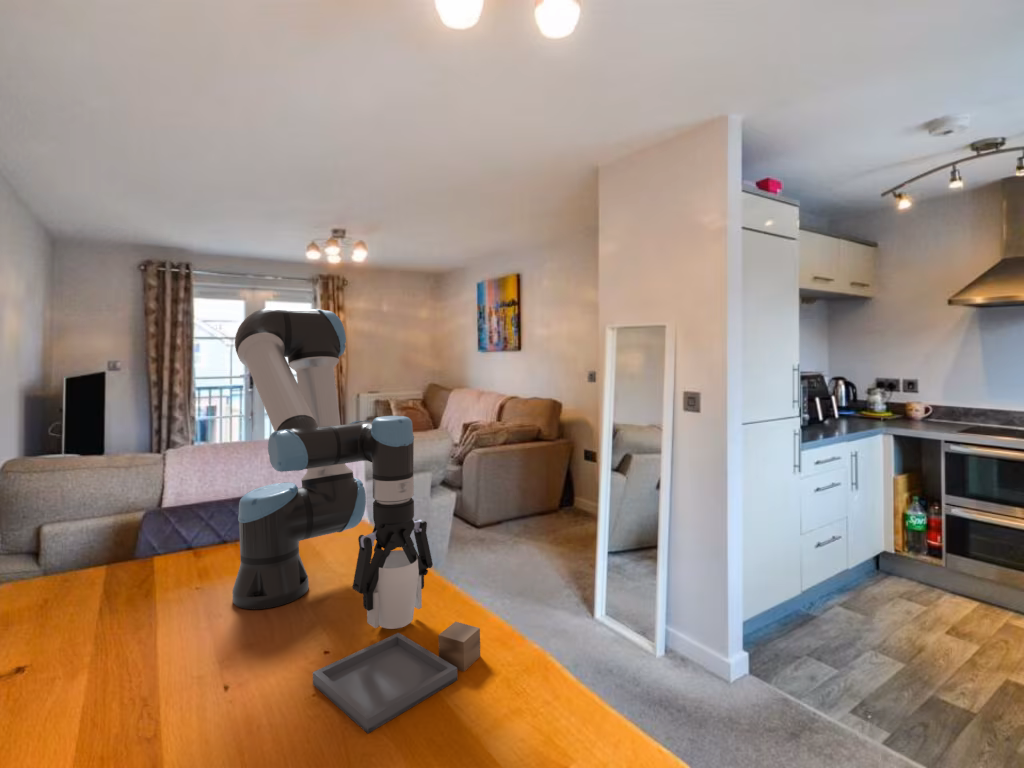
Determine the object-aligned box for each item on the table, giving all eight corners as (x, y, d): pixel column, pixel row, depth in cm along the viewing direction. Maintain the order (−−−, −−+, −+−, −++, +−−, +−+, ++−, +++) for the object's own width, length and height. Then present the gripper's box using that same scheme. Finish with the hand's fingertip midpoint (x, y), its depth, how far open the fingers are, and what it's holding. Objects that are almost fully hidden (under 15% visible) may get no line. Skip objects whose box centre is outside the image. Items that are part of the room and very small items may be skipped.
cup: (408, 635, 94) (407, 570, 93) (362, 630, 96) (360, 566, 95) (426, 611, 103) (425, 551, 102) (383, 606, 105) (382, 548, 104)
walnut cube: (439, 664, 87) (438, 634, 87) (456, 649, 92) (455, 621, 91) (464, 672, 85) (463, 642, 85) (480, 656, 89) (479, 628, 89)
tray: (313, 684, 82) (312, 672, 82) (398, 643, 94) (398, 632, 93) (367, 733, 71) (367, 719, 71) (457, 680, 83) (457, 667, 82)
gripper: (351, 516, 88) (354, 646, 89) (450, 491, 103) (451, 601, 105) (329, 507, 93) (332, 630, 94) (427, 484, 108) (428, 590, 110)
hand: (395, 615), depth 99 cm, fingers closed on cup, 9 cm apart
